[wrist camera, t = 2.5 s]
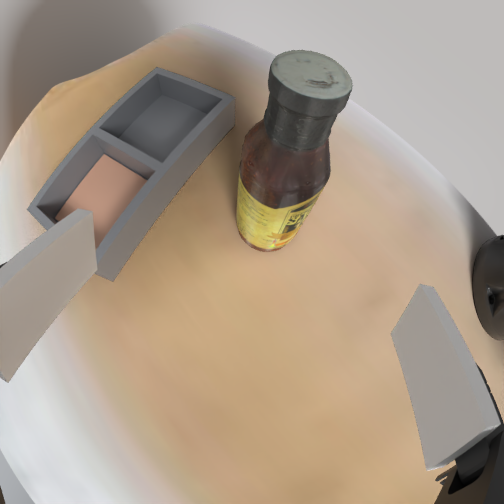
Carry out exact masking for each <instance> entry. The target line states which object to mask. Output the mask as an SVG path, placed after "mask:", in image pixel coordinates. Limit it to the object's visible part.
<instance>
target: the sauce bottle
mask: <svg viewBox="0 0 504 504" xmlns="http://www.w3.org/2000/svg"><path fill="white" fill-rule="evenodd" d="M268 87H269V91H270V94H269V100H268V106H267V109H266V111H265V115H264V119H263V120H261V121H260V122H258V123H256V125H255V126H254V127H253V128H252V129H251V130H249V132H248V134H247V135H246V136H245V141H244V144H243V148H242V160H241V162H240V166H239V180H238V196H237V214H236V221H237V226H238V229H239V234H240V236H241V238H242V239H243V240H244V241H245V242H246V243H247V244H248V245H249V246H251V247H252V248H254V249H256V250H259V251H263V252H270V251H276V250H279V249H281V248H282V247H283V246H285V245H286V244H288V243H289V242H290V241H291V240H292V239H293V238H294V237H295V235H296V233H297V232H298V230H299V229H300V227H301V225H302V224H303V222H304V220H305V219H306V217H307V216H308V214H309V212H310V211H311V209H312V207H313V206H314V204H315V202H316V200H317V199H318V197H319V195H320V194H321V192H322V191H323V189H324V187H325V185H326V183H327V182H328V179H329V176H330V153H329V139H328V137H329V135H330V133H331V127H332V125H333V123H334V122H335V119H336V117H337V114H338V113H340V112H341V111H342V110H343V109H344V108H345V106H346V103H347V101H348V99H349V96H350V93H351V91H352V80H351V78H350V76H349V74H348V73H347V71H346V70H345V69H344V68H343V67H342V66H341V65H339V64H338V63H337V62H336V61H335V60H333V59H332V58H330V57H327V56H325V55H323V54H320V53H316V52H312V51H305V50H297V51H295V50H292V51H288V52H284V53H282V54H280V55H278V56H276V57H275V59H274V60H273V62H272V64H271V66H270V71H269V79H268Z"/></svg>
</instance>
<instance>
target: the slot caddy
mask: <svg viewBox="0 0 504 504" xmlns="http://www.w3.org/2000/svg"><path fill="white" fill-rule="evenodd" d="M234 125H235V97H233V96H231V95H229V94H226V93H224V92H222V91H219V90H217V89H215V88H212V87H210V86H207V85H205V84H202V83H200V82H197V81H195V80H192V79H189V78H187V77H184V76H181V75H179V74H176V73H173V72H170V71H167V70H164V69H161V68H158V67H156V68H155V69H154V70H153V71H151V72H150V73H149V74H148V75H146V76H145V77H144V78H143V79H142V80H141V81H139V82H138V83H137V84H136V85H135V86H134V87H133V88H131V89H130V90H129V91H128V92H127V93H126V94H125V95H124V96H123V97H122V98H121V99H119V100H118V101H117V102H116V103H115V104H114V105H113V106H112V107H111V108H110V109H109V110H108V111H107V112H106V113H105V114H104V115H103V116H102V117H101V118H100V119H99V120H98V121H97V122H96V123H95V124H94V125H93V126H92V128H91V129H90V130H89V131H88V132H87V133H86V134H85V135H84V136H83V137H82V138H81V140H80V141H79V142H78V143H77V144H76V145H75V146H74V148H73V149H72V150H71V151H70V152H69V154H68V155H67V156H66V157H65V158H64V160H63V161H62V162H61V163H60V165H59V166H58V167H57V168H56V170H55V171H54V172H53V173H52V175H51V176H50V177H49V179H48V180H47V181H46V183H45V184H44V186H43V187H42V188H41V190H40V191H39V192H38V194H37V195H36V197H35V198H34V200H33V201H32V203H31V204H30V206H29V207H28V209H27V210H28V211H29V212H30V213H31V214H32V216H33V217H34V218H35V219H36V220H37V221H38V222H39V223H40V224H41V225H42V226H43V227H44V228H45V229H46V230H48V229H50V228H51V227H52V226H54V225H55V224H57V223H58V222H59V221H61V220H62V219H64V218H65V217H66V216H68V215H69V214H71V213H72V212H74V211H75V210H77V209H78V208H79V209H84V210H88V211H93V225H94V239H95V250H96V260H97V269H98V270H97V271H96V272H95V274H97V275H99V276H101V277H104V278H106V279H108V280H110V281H114V280H115V278H116V277H117V275H118V274H119V272H120V271H121V269H122V268H123V266H124V265H125V263H126V262H127V260H128V259H129V257H130V256H131V254H132V253H133V251H134V250H135V249H136V247H137V246H138V244H139V243H140V242H141V240H142V239H143V237H144V236H145V235H146V233H147V232H148V230H149V229H150V228H151V226H152V225H153V224H154V222H155V221H156V220H157V218H158V217H159V216H160V214H161V213H162V212H163V210H164V209H165V208H166V206H167V205H168V204H169V203H170V201H171V200H172V199H173V197H174V196H175V195H176V194H177V192H178V191H179V190H180V189H181V187H182V186H183V185H184V184H185V182H186V181H187V180H188V179H189V177H190V176H191V175H192V174H193V173H194V171H195V170H196V169H197V168H198V167H199V165H200V164H201V163H202V162H203V161H204V159H205V158H206V157H207V156H208V155H209V154H210V152H211V151H212V150H213V149H214V148H215V147H216V145H217V144H218V143H219V142H220V141H221V140H222V139H223V138H224V136H225V135H226V134H227V133H228V132H229V131H230V130H231V129H232V128H233V126H234Z"/></svg>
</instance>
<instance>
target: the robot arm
mask: <svg viewBox="0 0 504 504" xmlns="http://www.w3.org/2000/svg"><path fill="white" fill-rule="evenodd" d="M97 270H98V269H97V260H96V250H95V239H94V225H93V211H88V210H84V209H79V208H78V209H77V210H75V211H74V212H72V213H71V214H69V215H68V216H66V217H65V218H64V219H62V220H61V221H59V222H58V223H57V224H55V225H54V226H52V227H51V228H50V229H48V230H47V231H46V232H44V233H43V234H42V235H40V236H39V237H38V238H36V239H35V240H34V241H33V242H31V243H30V244H29V245H28V246H26V247H25V248H24V249H23V250H21V251H20V252H19V253H18V254H16V255H15V256H14V257H13V258H12V259H10V260H9V261H8V262H6V263H4V264H2V265H0V378H2V379H3V380H5V381H6V382H7V383H9V381H10V380H11V378H12V377H13V375H14V374H15V372H16V371H17V370H18V368H19V367H20V365H21V364H22V362H23V361H24V360H25V358H26V357H27V355H28V354H29V353H30V351H31V350H32V349H33V347H34V346H35V345H36V343H37V342H38V341H39V339H40V338H41V337H42V335H43V334H44V333H45V331H46V330H47V329H48V328H49V326H50V325H51V324H52V322H53V321H54V320H55V319H56V317H57V316H58V315H59V314H60V313H61V311H62V310H63V309H64V308H65V306H66V305H67V304H68V303H69V302H70V300H71V299H72V298H73V297H74V296H75V295H76V293H77V292H78V291H79V290H80V289H81V288H82V286H83V285H84V284H85V283H86V282H87V281H88V280H89V279H90V277H91V276H92V275H93V274H94V273H95V272H96V271H97ZM473 293H474V301H475V306H476V310H477V314H478V317H479V319H480V322H481V324H482V326H483V328H484V329H485V331H486V332H487V333H488V334H489V335H490V336H491V337H492V338H494V339H497V340H504V235H501V236H497V237H495V238H493V239H490V240H488V241H487V242H485V243H484V244H483V245H482V247H481V248H480V250H479V252H478V254H477V257H476V261H475V265H474V272H473ZM391 336H392V339H393V342H394V345H395V348H396V352H397V355H398V358H399V361H400V364H401V367H402V371H403V374H404V378H405V381H406V384H407V388H408V392H409V395H410V399H411V403H412V406H413V410H414V414H415V418H416V423H417V427H418V431H419V436H420V440H421V445H422V450H423V455H424V460H425V465H426V471H427V470H432V469H437V468H442V467H444V466H445V465H447V464H449V463H450V462H452V461H453V460H455V461H456V465H455V466H453V467H452V468H450V469H449V470H447V471H445V472H444V473H442V474H440V475H439V476H438V477H437V478H436V480H435V481H439V480H440V479H442V478H444V477H446V476H447V478H446V479H444V480H443V481H442V482H440V484H442V485H443V487H442V489H441V491H440V493H439V495H438V497H437V499H436V501H435V503H434V504H504V423H503V420H502V417H501V415H500V412H499V410H498V407H497V404H496V402H495V400H494V397H493V395H492V393H490V392H491V390H490V388H489V385H488V384H487V381H486V379H485V376H484V374H483V372H482V370H481V369H480V368H479V366H478V365H477V364H476V363H475V361H474V359H473V357H472V355H471V353H470V351H469V349H468V347H467V345H466V343H465V341H464V339H463V337H462V335H461V334H460V332H459V330H458V328H457V326H456V324H455V323H454V321H453V319H452V317H451V315H450V314H449V312H448V310H447V309H446V307H445V305H444V303H443V302H442V300H441V298H440V297H439V295H438V293H437V292H436V290H435V289H434V287H431V286H427V285H423V284H419V286H418V288H417V290H416V292H415V293H414V295H413V297H412V299H411V301H410V302H409V304H408V306H407V307H406V309H405V311H404V313H403V314H402V316H401V318H400V319H399V321H398V323H397V324H396V326H395V327H394V329H393V331H392V332H391ZM0 504H5V501H4V497H3V494H2V490H1V487H0Z"/></svg>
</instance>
